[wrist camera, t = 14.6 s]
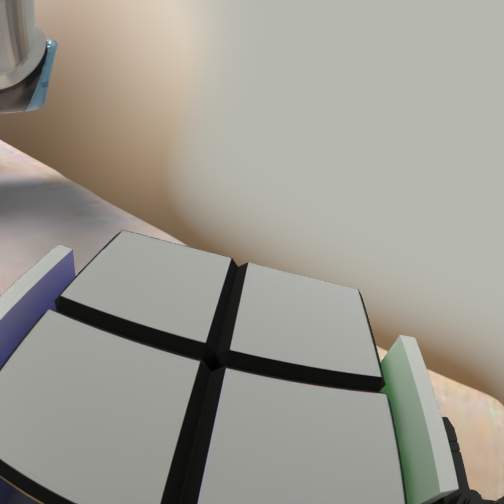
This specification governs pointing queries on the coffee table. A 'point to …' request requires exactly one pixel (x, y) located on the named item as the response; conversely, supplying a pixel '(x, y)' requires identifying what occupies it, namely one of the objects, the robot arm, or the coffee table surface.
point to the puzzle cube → (198, 388)
